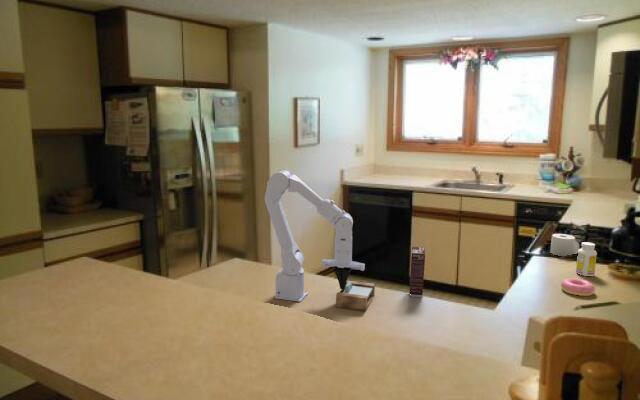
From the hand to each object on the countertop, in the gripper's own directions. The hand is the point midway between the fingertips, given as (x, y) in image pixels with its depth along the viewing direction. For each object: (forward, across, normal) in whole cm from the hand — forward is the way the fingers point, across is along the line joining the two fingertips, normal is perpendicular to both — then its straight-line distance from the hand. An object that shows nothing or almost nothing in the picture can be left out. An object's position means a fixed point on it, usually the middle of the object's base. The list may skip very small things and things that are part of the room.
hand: (342, 288), depth 165 cm
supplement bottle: (+5, +85, +58) cm, 103 cm away
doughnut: (+5, +79, +36) cm, 87 cm away
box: (+4, +5, 0) cm, 6 cm away
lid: (+1, +5, 0) cm, 5 cm away
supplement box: (+4, +23, +15) cm, 28 cm away
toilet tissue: (+5, +82, +85) cm, 118 cm away
